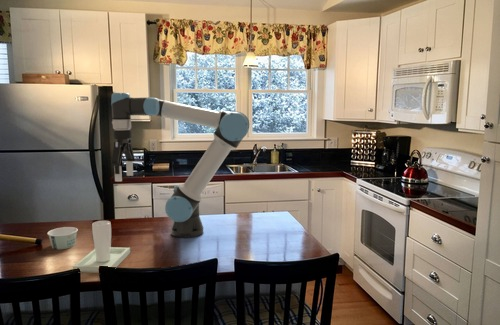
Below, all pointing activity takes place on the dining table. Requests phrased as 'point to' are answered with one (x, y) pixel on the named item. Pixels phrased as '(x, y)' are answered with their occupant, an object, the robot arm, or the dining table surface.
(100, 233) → the drinking glass
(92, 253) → the tray
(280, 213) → the dining table surface
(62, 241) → the food container
